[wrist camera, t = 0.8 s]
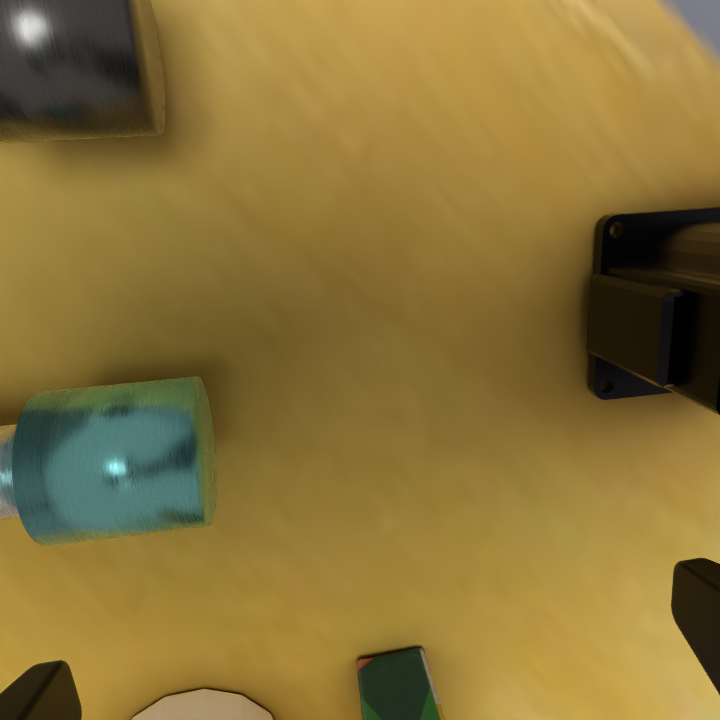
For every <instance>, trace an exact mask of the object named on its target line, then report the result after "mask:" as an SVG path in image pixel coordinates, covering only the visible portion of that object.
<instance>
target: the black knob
mask: <svg viewBox="0 0 720 720" xmlns="http://www.w3.org/2000/svg"><path fill="white" fill-rule="evenodd" d="M165 122H166V97H165V84H164V74H163V66H162V59H161V52H160V46H159V40H158V34H157V29H156V24H155V19H154V14H153V9H152V5H151V0H0V143H10V142H31V141H51V140H72V139H93V138H114V137H134V136H155V135H162V134H163V132H164V128H165Z"/></svg>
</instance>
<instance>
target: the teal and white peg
mask: <svg viewBox="0 0 720 720" xmlns="http://www.w3.org/2000/svg"><path fill="white" fill-rule="evenodd" d="M216 493H217V466H216V449H215V437H214V429H213V421H212V415H211V409H210V404H209V399H208V395H207V392H206V388H205V386H204V383H203V381H202V379H201V378H200V377H198V376H197V377H186V378H176V379H165V380H155V381H144V382H134V383H124V384H113V385H103V386H92V387H82V388H71V389H61V390H51V391H41V392H38V393H36V394H34V395H33V396H32V397H31V398H30V399H29V400H28V401H27V403H26V404H25V406H24V408H23V410H22V412H21V414H20V417H19V419H18V423H17V424H16V425H6V426H0V520H1V519H9V518H18V517H20V518H21V520H22V523H23V525H24V527H25V529H26V531H27V532H28V534H29V535H30V537H31V538H32V539H33V540H34V541H35V542H37V543H38V544H40V545H43V546H53V545H61V544H69V543H77V542H85V541H93V540H101V539H109V538H117V537H125V536H133V535H141V534H149V533H157V532H164V531H172V530H180V529H188V528H196V527H204V526H210V525H211V523H212V521H213V518H214V513H215V507H216Z"/></svg>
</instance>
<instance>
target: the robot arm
mask: <svg viewBox="0 0 720 720" xmlns="http://www.w3.org/2000/svg"><path fill="white" fill-rule="evenodd" d="M614 223H615V224H616V225H617V232H616V234H615V235H614V236H611V235H610V227H611V226H612V225H613V224H614ZM587 349H588V350H589V351H590V359H589V377H588V387H589V390H590V392H591V393H592V394H593V395H595V396H597V397H598V398H600V399H604V400H608V399H618V398H627V397H636V396H645V395H654V394H663V393H673V392H674V393H676V394H678V395H680V396H682V397H684V398H686V399H688V400H690V401H692V402H694V403H696V404H698V405H700V406H702V407H704V408H706V409H709V410H711V411H713V412H715V413H717V414H719V415H720V207H708V208H694V209H680V210H665V211H651V212H637V213H622V214H610V215H607V216H605V217H604V218H602V219H601V220H600V222H599V223H598V226H597V230H596V247H595V265H594V277H593V278H592V279H591V281H590V291H589V310H588V329H587ZM605 380H607V382H608V383H607V386H606V387H605V388H604V389H602V390H601V389H600V386H601V384H602V383H603V382H604V381H605ZM671 609H672V614H673V617H674V620H675V622H676V624H677V626H678V627H679V629H680V631H681V632H682V634H683V636H684V637H685V639H686V640H687V642H688V644H689V645H690V647H691V649H692V650H693V652H694V654H695V655H696V657H697V658H698V660H699V662H700V663H701V665H702V667H703V668H704V670H705V672H706V673H707V675H708V677H709V678H710V680H711V681H712V683H713V685H714V686H715V688H716V690H717V691H718V693H719V695H720V564H718V563H716V562H713V561H711V560H708V559H706V558H696V559H690V560H684V561H680V562H678V563H677V564H676V565H675V567H674V572H673V586H672V600H671ZM81 717H82V710H81V703H80V700H79V697H78V693H77V690H76V686H75V683H74V680H73V676H72V673H71V670H70V667H69V665H68V664H67V663H66V662H65V661H62V660H59V661H53V662H46V663H40V664H37V665H34V666H32V667H31V668H29V669H28V670H27V671H26V672H25V673H23V674H22V675H21V676H20V677H19V678H18V679H17V680H15V681H14V682H13V683H12V684H11V685H10V686H8V687H7V688H6V689H5V690H4V691H3V692H2V693H0V720H81Z"/></svg>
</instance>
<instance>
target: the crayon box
mask: <svg viewBox="0 0 720 720" xmlns="http://www.w3.org/2000/svg"><path fill="white" fill-rule="evenodd" d="M357 669H358V681H359V689H360V698H361V711H362V718H363V720H445V718H444V715H443V712H442V709H441V704H440V701H439V698H438V695H437V693H436V689H435V686H434V683H433V679H432V676H431V673H430V670H429V667H428V663H427V660H426V657H425V653H424V649H423V648H417V649H412V650H407V651H401V652H396V653H391V654H386V655H382V656H376V657H372V658H367V659H360V660H358V662H357Z"/></svg>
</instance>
